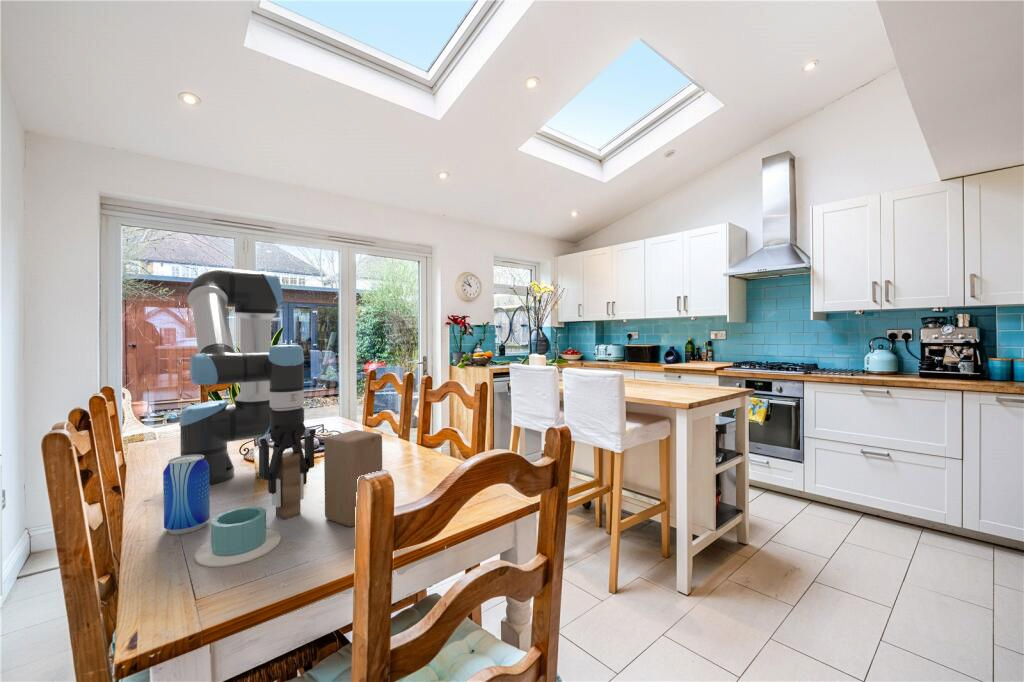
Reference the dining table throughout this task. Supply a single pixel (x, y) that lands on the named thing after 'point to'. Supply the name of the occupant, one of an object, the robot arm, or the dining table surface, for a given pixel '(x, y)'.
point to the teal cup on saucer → (237, 538)
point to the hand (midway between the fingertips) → (288, 501)
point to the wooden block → (348, 471)
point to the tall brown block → (289, 485)
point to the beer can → (186, 494)
